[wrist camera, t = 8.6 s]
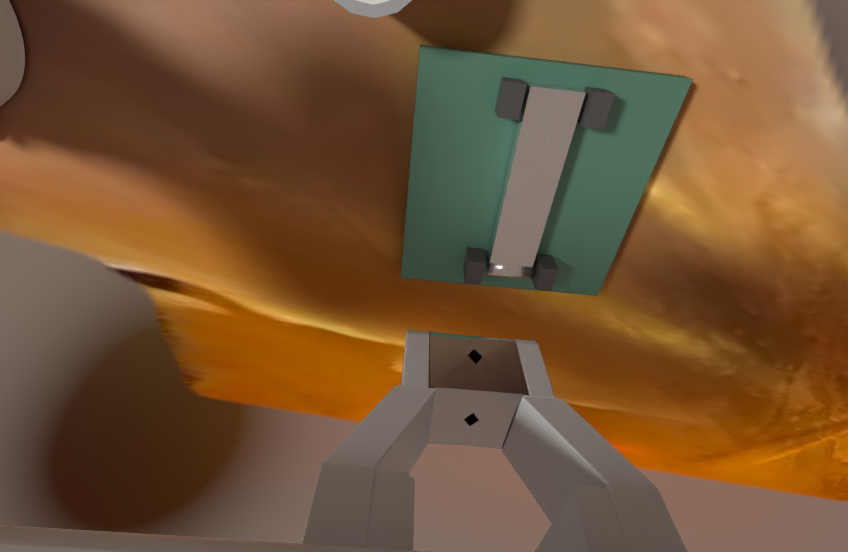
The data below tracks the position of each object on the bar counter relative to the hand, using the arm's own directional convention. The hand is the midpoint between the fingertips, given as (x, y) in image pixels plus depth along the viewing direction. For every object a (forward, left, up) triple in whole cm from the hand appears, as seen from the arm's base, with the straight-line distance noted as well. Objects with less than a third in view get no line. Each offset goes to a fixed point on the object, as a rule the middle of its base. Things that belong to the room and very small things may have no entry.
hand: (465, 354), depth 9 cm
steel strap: (+8, -6, -26) cm, 27 cm away
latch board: (+8, -6, -27) cm, 29 cm away
